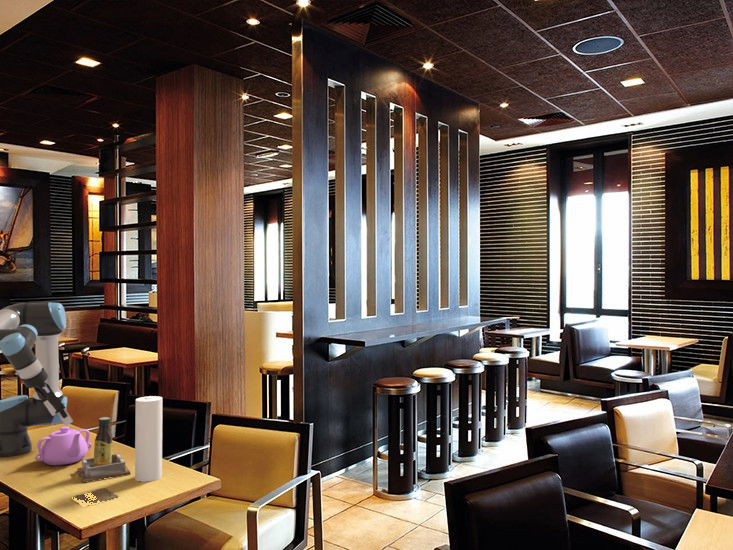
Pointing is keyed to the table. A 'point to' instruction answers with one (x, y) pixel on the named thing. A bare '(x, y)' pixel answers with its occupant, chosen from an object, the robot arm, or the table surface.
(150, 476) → the cylinder container
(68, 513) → the table surface
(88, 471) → the grey square tray
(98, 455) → the sauce bottle
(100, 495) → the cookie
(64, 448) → the teapot
